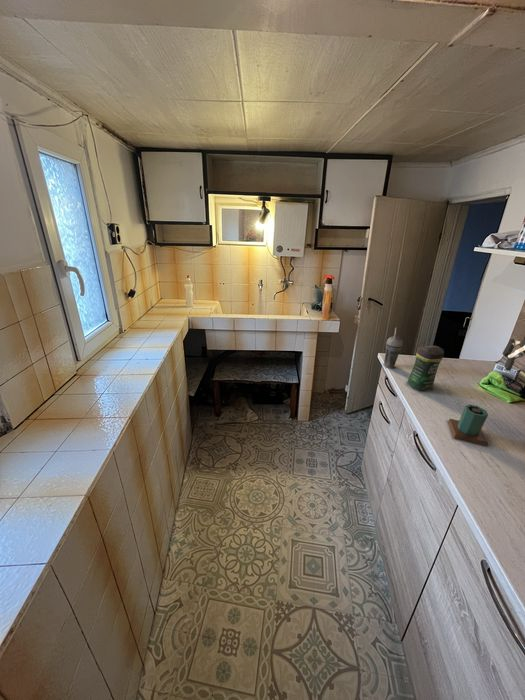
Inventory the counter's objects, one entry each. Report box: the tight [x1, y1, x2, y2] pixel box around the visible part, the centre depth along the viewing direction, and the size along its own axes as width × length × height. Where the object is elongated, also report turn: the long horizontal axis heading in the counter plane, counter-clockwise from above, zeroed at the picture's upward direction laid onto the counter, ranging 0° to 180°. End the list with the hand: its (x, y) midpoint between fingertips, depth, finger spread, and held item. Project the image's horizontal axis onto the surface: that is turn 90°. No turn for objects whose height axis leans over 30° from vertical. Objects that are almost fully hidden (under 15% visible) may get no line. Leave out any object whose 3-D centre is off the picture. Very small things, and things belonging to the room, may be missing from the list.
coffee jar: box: [407, 345, 445, 391], centre depth 117 cm, size 10×8×19 cm
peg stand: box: [448, 408, 489, 447], centre depth 92 cm, size 9×9×10 cm
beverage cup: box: [383, 327, 404, 369], centre depth 133 cm, size 7×7×20 cm
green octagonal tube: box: [457, 404, 489, 436], centre depth 92 cm, size 6×6×8 cm
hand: (523, 374), depth 89 cm, fingers open, 8 cm apart
